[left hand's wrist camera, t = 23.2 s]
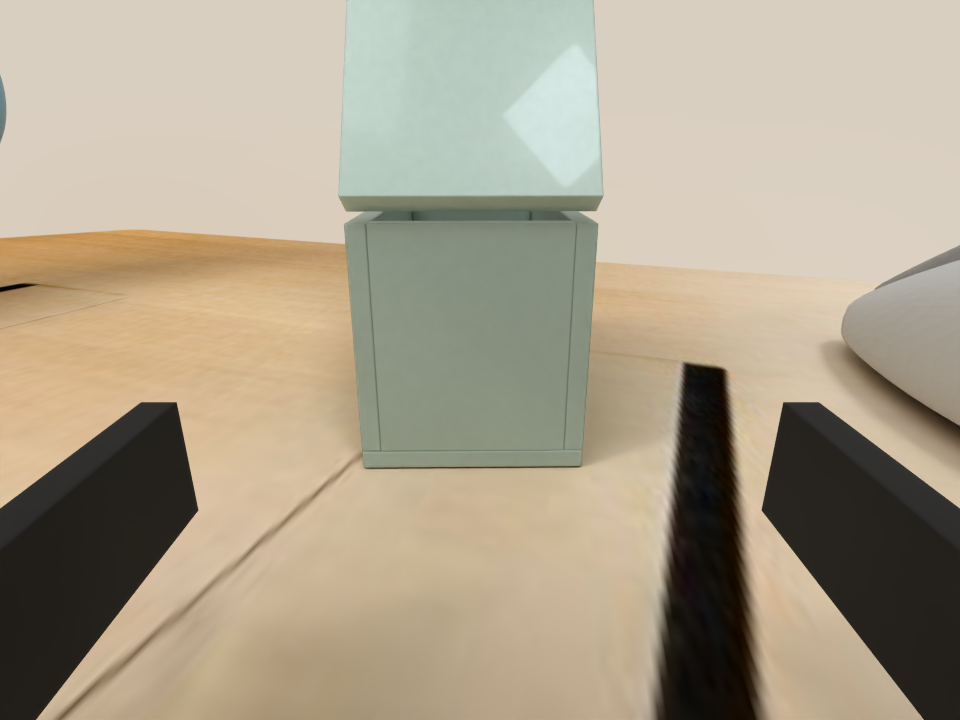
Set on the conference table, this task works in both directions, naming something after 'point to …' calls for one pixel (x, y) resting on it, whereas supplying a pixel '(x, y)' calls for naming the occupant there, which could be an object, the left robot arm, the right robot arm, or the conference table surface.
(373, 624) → the conference table surface
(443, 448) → the chest
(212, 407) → the conference table surface
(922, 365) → the projector
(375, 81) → the lid
